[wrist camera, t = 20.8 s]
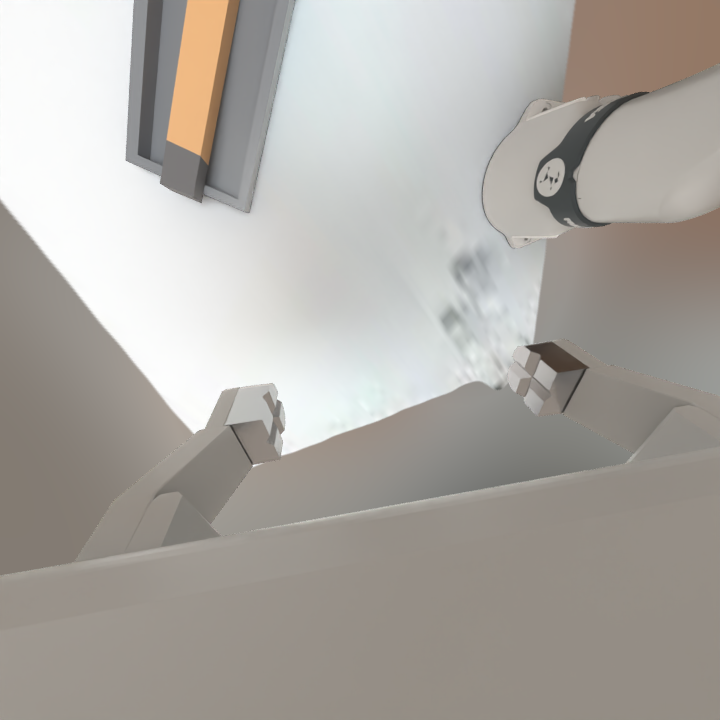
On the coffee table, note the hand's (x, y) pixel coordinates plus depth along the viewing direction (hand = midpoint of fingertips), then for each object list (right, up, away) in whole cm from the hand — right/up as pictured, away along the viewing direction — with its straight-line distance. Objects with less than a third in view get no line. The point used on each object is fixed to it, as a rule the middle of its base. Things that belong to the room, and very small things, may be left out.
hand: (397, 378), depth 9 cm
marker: (-17, +29, +18) cm, 39 cm away
